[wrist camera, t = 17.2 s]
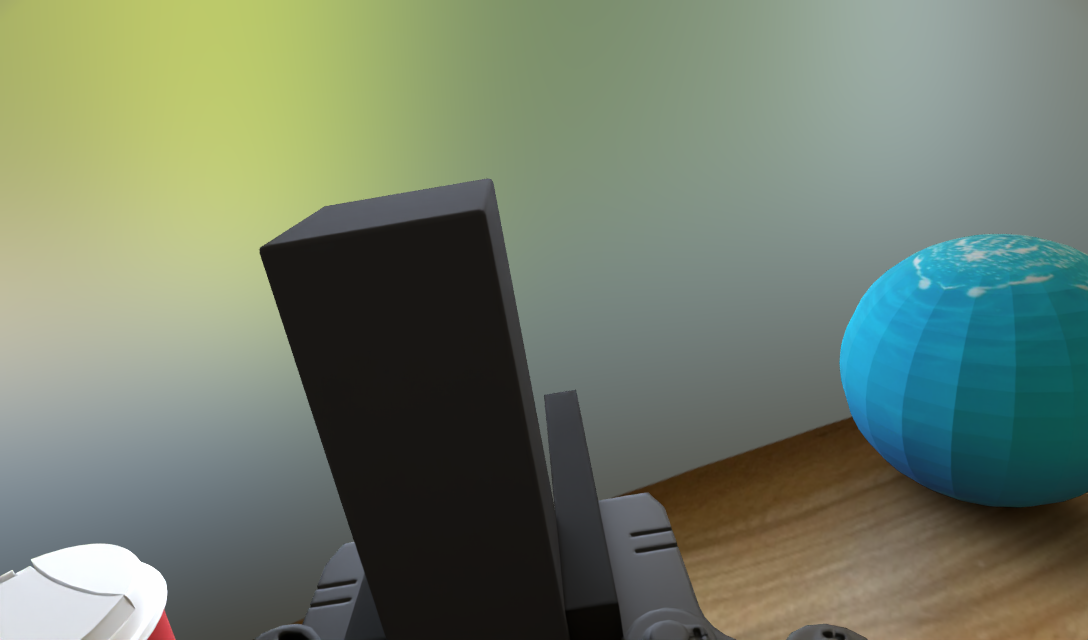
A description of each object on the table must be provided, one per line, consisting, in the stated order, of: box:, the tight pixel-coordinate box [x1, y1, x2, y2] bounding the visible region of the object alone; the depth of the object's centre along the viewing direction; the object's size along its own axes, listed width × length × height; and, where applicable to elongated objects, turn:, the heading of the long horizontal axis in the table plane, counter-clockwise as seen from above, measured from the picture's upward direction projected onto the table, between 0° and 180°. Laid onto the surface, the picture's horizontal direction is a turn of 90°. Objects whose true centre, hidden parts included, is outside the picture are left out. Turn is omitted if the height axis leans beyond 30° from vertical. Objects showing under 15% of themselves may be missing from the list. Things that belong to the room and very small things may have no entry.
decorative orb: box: [840, 234, 1088, 507], centre depth 36 cm, size 15×15×15 cm
